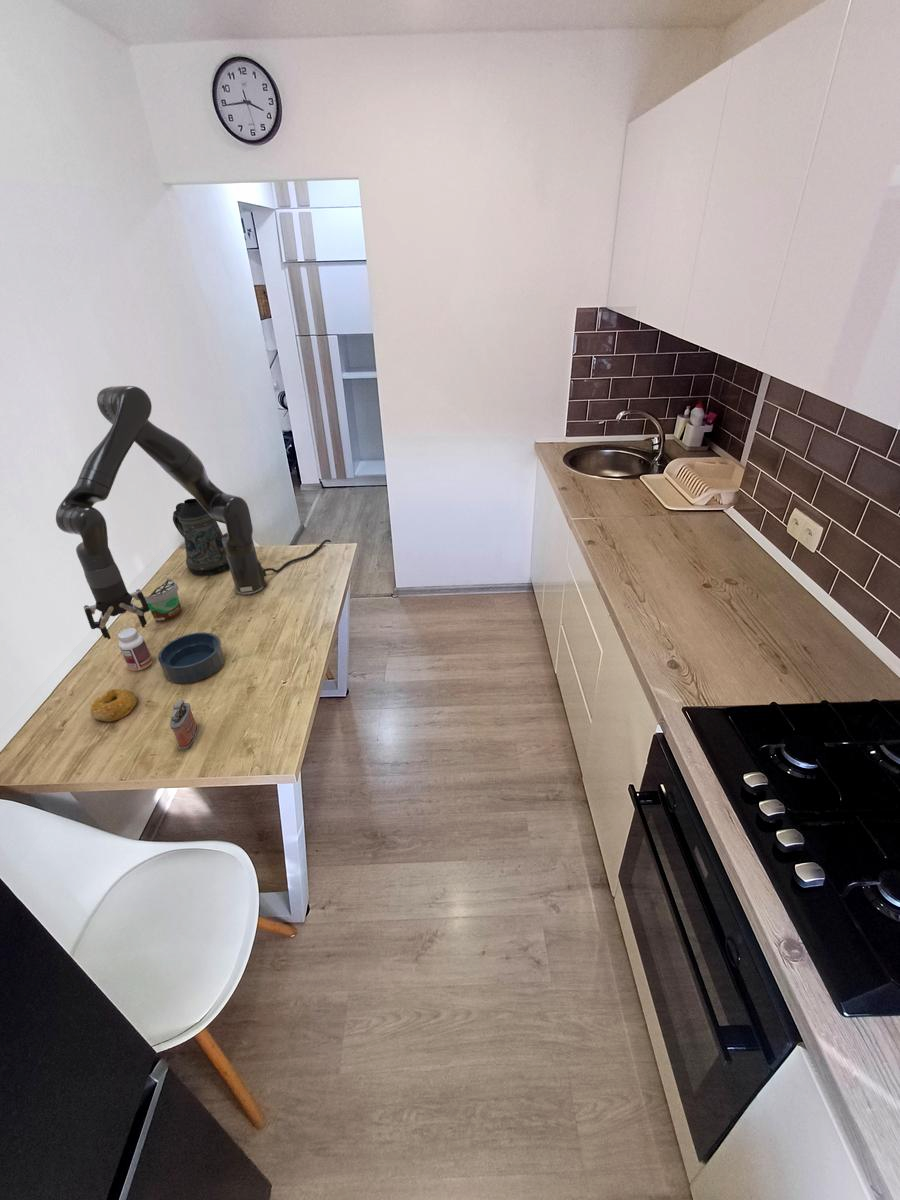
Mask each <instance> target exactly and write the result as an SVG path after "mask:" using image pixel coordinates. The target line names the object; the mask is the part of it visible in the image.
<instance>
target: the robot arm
mask: <svg viewBox="0 0 900 1200" xmlns="http://www.w3.org/2000/svg"><path fill="white" fill-rule="evenodd" d="M96 403H97V408H98V409H99V412H100V413H101V415H102V417H104V419H106V420H107V421H108V422H109V423H110V424H111V426H110V429H109V431H108V432H107V433H106V435H105V436H104V438H103V439H102V440H101V441H100V442H99V443H98V444H97V446H96V447H95V448H94V449H93V450H92V452H91V453H90V454H89V455H88V457H87V458H86V460H85V462H84V464H83V467H82V468H81V471H80V473H79V476H78V478H77V481H76V483H75V485H74V486H73V488H72V489H70V491H69V492H68V493H67V495H66V496H65V497H64V499H63V500H62V501H61V502H60V504H59V505H58V508H57V509H56V513H55V523H56V525H57V527H58V528H59V530H61V531H62V532H64V533H67V534H72V535H76V536H77V535H78V536H80V537H81V539H82V542H80V543H79V544H78V545H77V546H76V548H75V552H76V555H77V558H78V561H79V563H80V564H81V567H82V570H83V573H84V577H85V580H86V583H87V584H88V586H89V589H90V591H91V594H92V596H93V599H94V601H95V604H93V605H88V604H87V605H85V604H84V606H83V610H84V613H85V615H86V619H87V622H88V624H89V627H90V629H91V630H95V629H99V630H100V631H101V632H100V633H101V634H102V637H103V638H104V639H107V640H111V639H112V637H111V635H110V633H109V630H108V628H107V626H106V625H107V623H108V621H109V620H110V618H111V617H117V616H118V615H122V614H126V612H130V613H132V614H135V615H136V616H137V618H138V621H139V623H140V626H141V628H142V629H143V628H144V629H145V628H146V625H147V624H148V623H147V620H146V617H145V614H146V613H147V612H150V608H149V606H148V604H147V602H146V600H145V598H144V597H145V596H144V594H143V592H142V590H141V589H136V590H135V591H134V592H132V593H129V592H128V589H127V586H126V584H125V582H124V579H123V576H122V574H121V571H120V568H119V567H118V565H117V563H116V562H115V559H114V556H113V554H112V551H111V549H110V547H109V535H108V527H107V521H106V519H105V516H104V515H103V514H102V512H101V511H100V510H99V509H97V508H95V507H93V506H94V505H95V504H97V503H100V502H104V501H106V500H107V499H108V498H109V495H110V493H111V490H112V489H113V485H114V483H115V481H116V478H117V476H118V473H119V471H120V469H121V466H122V464H123V462H124V460H125V458H126V457H127V454H128V453H129V451H130V450H131V448H132V446H133V444H134V443H136V445H138V447H139V448H141V449H142V450H143V451H144V452H145V453H146V454H147V455H148V456H149V457H150V458H151V459H152V460H153V461H154V462H155V463H156V464H157V465H159V466H160V468H162V470H163V471H164V472H166V474H168V475H169V476H170V477H171V479H173V480H174V481H175V482H176V483H178V484H179V485H180V486H181V487H182V488H183V489H184V490H185V491H186V492H187V493H188V494H190V495H191V496H192V498H193V499H196V500H197V501H198V502H199V503H200V504H201V506H202V507H203V508H204V509H205V511H206V512H207V513H208V514H209V515H210V516H211V517H212V518H213V519H214V520H216V521H217V523H220V524H225V527H226V532H225V533H223V536H222V543H223V546H224V550H225V553H226V557H227V560H228V564H229V567H230V568H229V570H230V571H229V572H230V574H231V577H232V581H233V585H234V589H235V593H236V594H238V595H240V596H249V595H255V594H257V593H259V592H261V591H263V589H265V588H267V583H266V579H265V577H267V572H268V571H273V572H274V573H280V572H281V571H283V570H284V569H285V568H286V567H287V566H288V565H290V564H291V563H294V562H297V561H301V560H304V559H308V558H309V557H311V556H313V555H314V554H315V553H316V552H317V551H318V550H319V549H320V548H322V547H323V546H324V545H325V544H326V543H331V542H332V540H331V539H325V540H323V541H322V542H321V543H320V544H319V545H318V546H319V547H318V546H316V547H315V548H314V549H313V550H312V551H311V552H310V553H308V554H306V555H303V556H300V557H297V558H293V559H290V560H289V561H287V562H285V563H284V564H283V565H282V566H281V567H280V568H278V569H275V568H273V567H267V568H264V567H263V566H262V564H261V562H260V560H259V559H258V554H257V551H256V547H255V543H254V539H253V532H254V529H253V528H254V527H253V523H252V517H251V512H250V508H249V505H248V503H247V501H246V500H245V499H244V498H243V497H241V496H238V495H234V494H230V493H227V492H224V491H223V490H221V489H220V488H219V487H218V486H217V485H215V483H213V482H212V480H210V478H209V476H208V473H207V470H206V468H205V466H204V464H203V462H202V460H201V459H200V458H199V457H198V456H197V455H196V453H195V452H194V451H193V450H192V449H191V448H190V447H189V446H188V445H186V444H185V443H184V442H183V441H181V440H180V439H178V438H177V437H175V436H173V435H172V434H170V433H168V432H167V431H165V430H163V429H161V428H160V427H157V426H156V424H153V422H151V421H150V420H149V419H150V416H151V413H152V410H153V409H152V408H153V406H152V405H153V404H152V401H151V398H150V396H149V395H148V393H147V392H146V391H145V390H144V389H142V388H141V387H138V386H134V385H115V386H108V387H107V386H106V387H104V388H103V389H101V390H100V391H99V392H98V393H97V396H96ZM133 599H135V600H136V601H139V602H140V604H141V605H142V606H141V607H139V606H137V605H135V604H134V603H132V601H133ZM96 610H97V611H99V612H101V613H100V614H99V615H100V616H99V619H98V621H95V619H94V616H93V615H94V614H95V613H96Z"/></svg>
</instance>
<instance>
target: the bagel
mask: <svg viewBox="0 0 900 1200" xmlns="http://www.w3.org/2000/svg"><path fill="white" fill-rule="evenodd" d="M101 695H102V696H100V697H97V698H96V699H94V701H93V702H92V704H91V707H90V716H91V717H92V718H93V719H96V720H98V721H102V722H107V723H109V722H115V721H117V720H120V719H123V718H124V717H126V716H127V715H129V714H130V713H131V712H132V711H133V710H134V708H135V706H136V704H137V702H138V700H137V698H136V695H135V693H134V692H133V691H132V690H129V689H121V688H115V689H114V688H113V689H110V690H108V691H106V693H104V694H101Z"/></svg>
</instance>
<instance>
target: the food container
mask: <svg viewBox="0 0 900 1200" xmlns="http://www.w3.org/2000/svg"><path fill="white" fill-rule="evenodd" d="M178 591H179V586H178V584H177V582H176V581H175V580H174V579H172V578H169V577H166V581H165V582H164V583H162V584H161V585H159V586H158V587H156V588H155V589H154V590H153V591H152V592H151V594H150V595H148V596H144V598H145V600H146V602H147V604H148V606H149V608H150V610H149V612H150V613H151V616H152V618H153V619H154V621H155V623H166V622H169V621H171V620H174V619H176V618H178V617H179V616H180V614H181V613H182V606H181V603H180V599H179V594H178V593H179V592H178Z"/></svg>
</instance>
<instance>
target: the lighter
mask: <svg viewBox="0 0 900 1200" xmlns="http://www.w3.org/2000/svg"><path fill="white" fill-rule="evenodd" d="M191 707H192V706H191V704H190V703H189V702H185V701H184V699H182V698H181V699H178V700H177V701H176V704H174V705H173V706H172V713H171V715H170V717H169V718H170V721H169V727H170V730H172V732H173V735H174V736H175V739H176V742H177V744H178V749H179V750H180V751H181V752H185V751H188V750H190V749H191V748H192V747H193V745H194V744H195V741H196V740H197V737H198V735H199V730H200V729H199V725H198V723H197V722H196V720H195V717H194V714H193V711H192V709H191Z"/></svg>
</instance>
